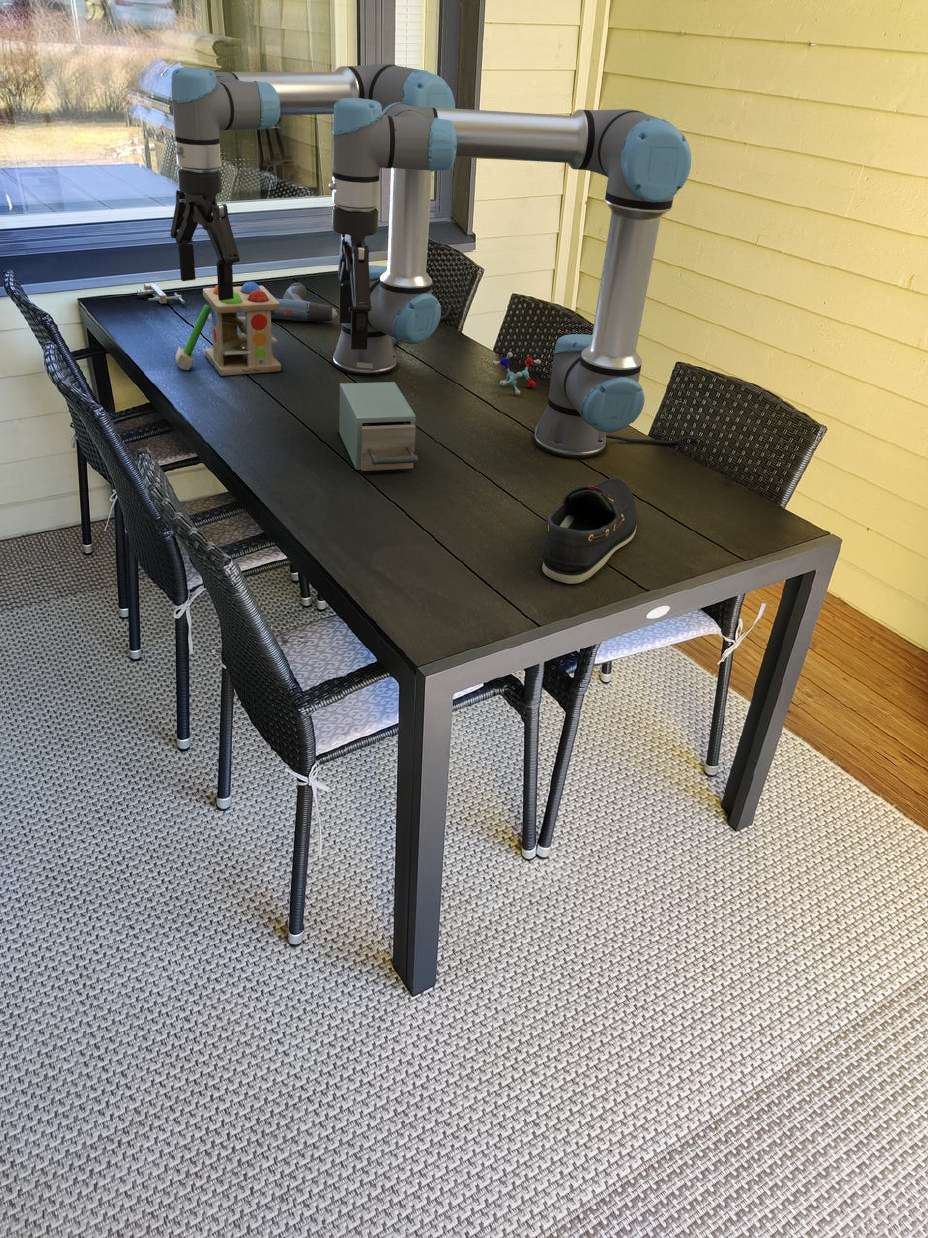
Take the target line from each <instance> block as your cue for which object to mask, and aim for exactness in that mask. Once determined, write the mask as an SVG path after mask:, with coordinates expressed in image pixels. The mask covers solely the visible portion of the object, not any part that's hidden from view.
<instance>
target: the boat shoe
mask: <svg viewBox="0 0 928 1238" xmlns="http://www.w3.org/2000/svg"><path fill="white" fill-rule="evenodd" d="M544 524H545V525H544V526H545V529H546V534H545V535H546V536H545V539H544V542H543V548H542V549H543V550H542V551H541V556H542V558H543V562H542V569H541V570H542V572H543V574H544V575H545V576H547V577H548V578H550V579H552V580H555V582H560V583H563V584H567V585H568V584H569V585H571V584H572V585H573V584H580V583H583V582H585V581H587V580H589V579H590V578H591V577H592V576H593V575H595V574H596V573H597V572H598V571H599V570H600V569H601V568H602V567H603V566H605V564H606V563H607V562H608V560H609V559H610V558H611V556H612V555H613V554H614V553H615V552H616V551H618V550H619V549H620V548H622V547H623V546H625V545H626V544H628V543H629V542H630V541H632V540H633V538H634V537H635V534H636V532H637V527H638V515H637V505H636V500H635V496H634V494H633V492H632V490H631V488H630V486H629V485H628V484H627V483H626V482H625V481H623V480H622V479H619V478H608V479H605V480H602V481H600V482H597V483H596V484H594V485H582V486H579V487H576V488H575V489H572V490H570V491H569V492H568V493H567V494H566V495H565V497H563V499H562V501H561V503H560V505H558V506H557V507H556V508H555V509H554V510H553V511H552V512H551V513H550V514H549V515H548V517H547V519H546V520H545V523H544Z"/></svg>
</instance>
